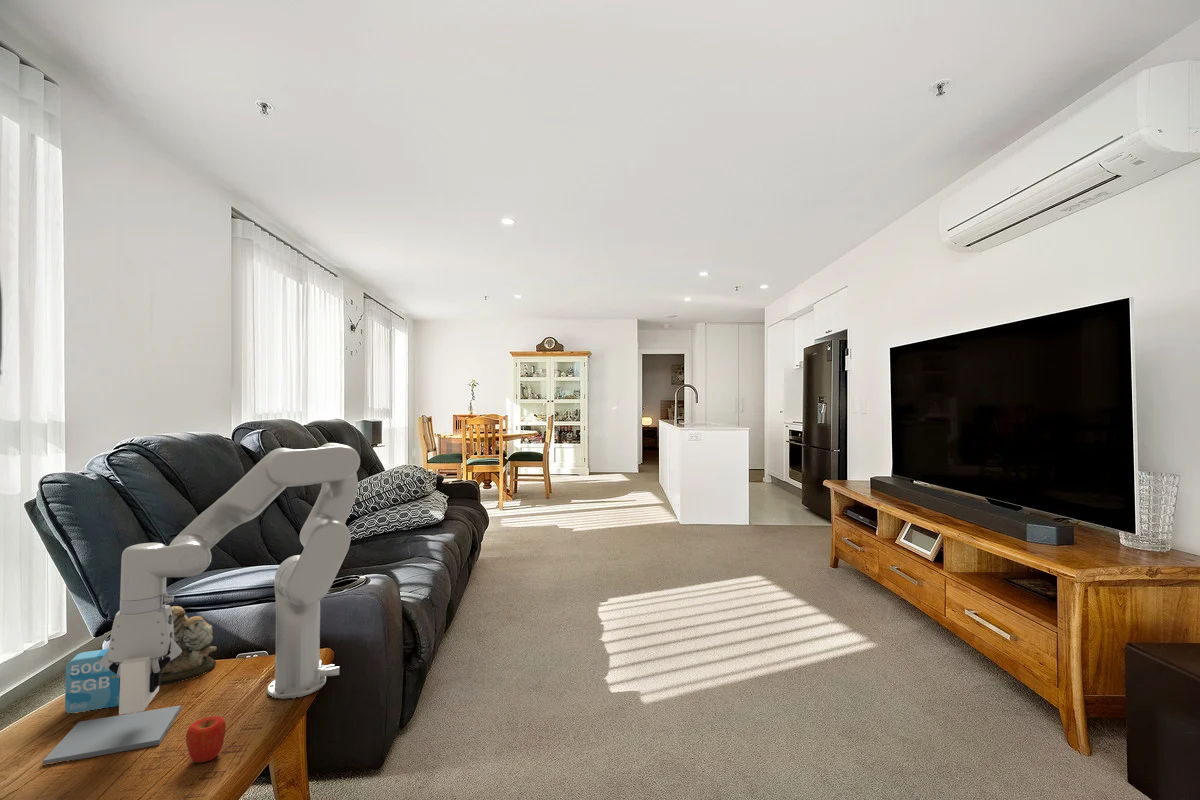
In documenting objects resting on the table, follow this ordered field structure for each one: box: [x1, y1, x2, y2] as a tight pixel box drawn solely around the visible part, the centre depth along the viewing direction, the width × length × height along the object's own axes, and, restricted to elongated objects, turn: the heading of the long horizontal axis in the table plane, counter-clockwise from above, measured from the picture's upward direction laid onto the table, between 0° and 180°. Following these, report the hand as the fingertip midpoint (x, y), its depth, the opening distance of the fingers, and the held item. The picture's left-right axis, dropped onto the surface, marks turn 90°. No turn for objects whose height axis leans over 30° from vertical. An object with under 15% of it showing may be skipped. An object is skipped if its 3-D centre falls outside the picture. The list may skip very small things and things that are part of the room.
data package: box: [64, 648, 120, 714], centre depth 128 cm, size 12×4×12 cm, turn 116°
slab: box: [118, 656, 160, 715], centre depth 117 cm, size 4×9×10 cm, turn 22°
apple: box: [185, 715, 227, 764], centre depth 108 cm, size 6×6×8 cm
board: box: [42, 705, 182, 765], centre depth 116 cm, size 18×14×1 cm
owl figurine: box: [160, 605, 217, 686], centre depth 143 cm, size 18×12×17 cm, turn 124°
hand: (140, 690), depth 117 cm, fingers closed on slab, 4 cm apart
